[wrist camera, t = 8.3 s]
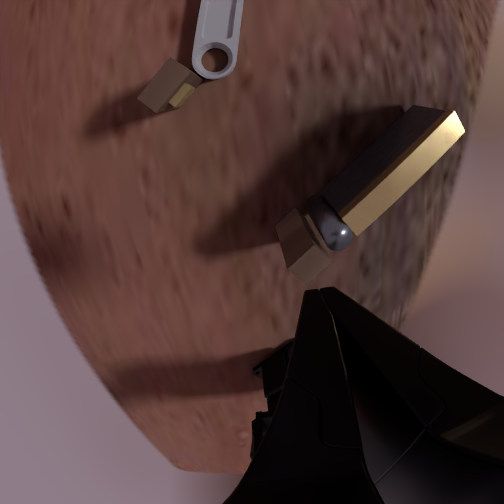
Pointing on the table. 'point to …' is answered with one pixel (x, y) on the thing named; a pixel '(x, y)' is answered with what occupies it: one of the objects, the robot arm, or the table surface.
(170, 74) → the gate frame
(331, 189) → the gate panel
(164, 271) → the table surface
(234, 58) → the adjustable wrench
